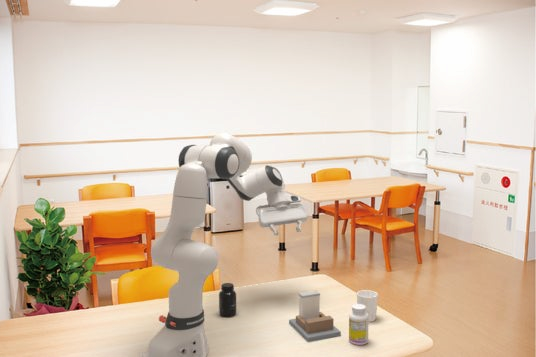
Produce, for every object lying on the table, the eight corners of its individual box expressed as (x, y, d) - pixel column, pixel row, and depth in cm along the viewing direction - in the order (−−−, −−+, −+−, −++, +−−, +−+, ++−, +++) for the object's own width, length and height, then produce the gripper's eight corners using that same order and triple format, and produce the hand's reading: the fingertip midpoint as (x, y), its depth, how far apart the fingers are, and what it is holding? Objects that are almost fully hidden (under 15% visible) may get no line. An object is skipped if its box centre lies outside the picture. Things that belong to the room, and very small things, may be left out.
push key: (319, 320, 200) (320, 293, 199) (302, 323, 198) (302, 296, 196) (316, 317, 203) (316, 290, 202) (298, 320, 201) (298, 293, 199)
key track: (340, 335, 191) (340, 321, 191) (307, 341, 187) (307, 327, 186) (320, 318, 207) (320, 304, 206) (289, 323, 202) (289, 309, 201)
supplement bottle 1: (236, 317, 208) (235, 287, 206) (218, 317, 208) (217, 288, 206) (237, 310, 215) (236, 281, 213) (220, 310, 215) (219, 281, 213)
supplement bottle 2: (355, 335, 192) (355, 301, 190) (371, 340, 187) (372, 305, 185) (345, 342, 186) (345, 307, 184) (362, 347, 182) (362, 311, 180)
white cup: (353, 320, 204) (354, 295, 203) (360, 313, 211) (360, 288, 209) (373, 324, 200) (374, 298, 199) (379, 316, 207) (380, 291, 206)
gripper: (255, 202, 215) (264, 233, 208) (303, 196, 220) (313, 225, 213) (253, 210, 220) (261, 240, 213) (300, 204, 225) (309, 233, 218)
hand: (287, 233), depth 213 cm, fingers open, 8 cm apart
